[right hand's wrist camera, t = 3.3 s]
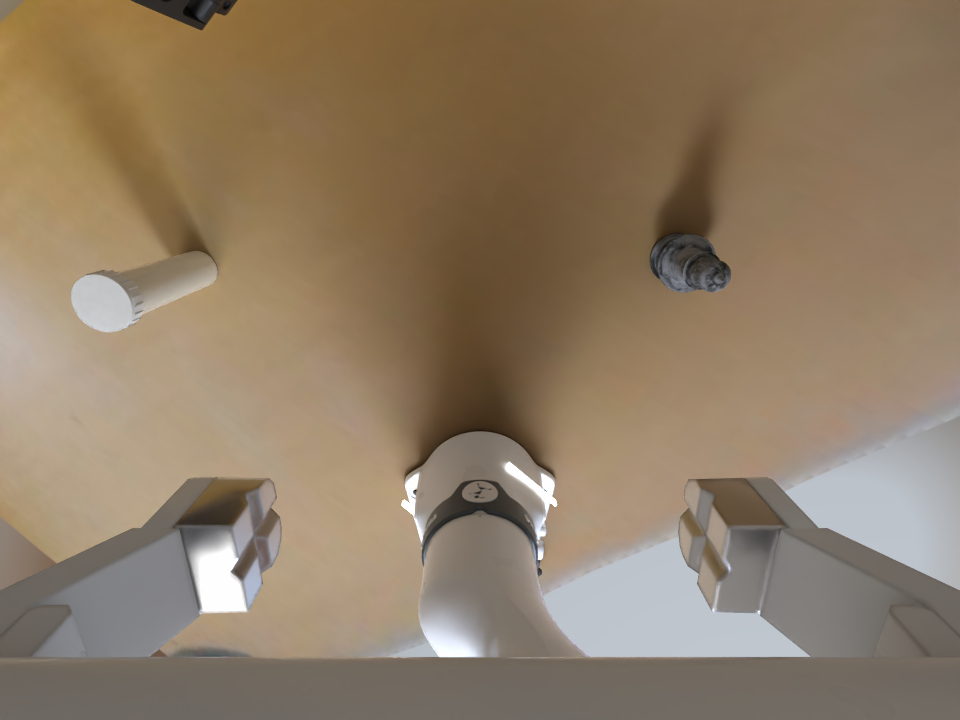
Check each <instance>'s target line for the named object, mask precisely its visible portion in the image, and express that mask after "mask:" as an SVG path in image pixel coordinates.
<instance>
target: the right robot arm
mask: <svg viewBox="0 0 960 720" xmlns="http://www.w3.org/2000/svg"><path fill="white" fill-rule="evenodd" d="M405 488H406V491H407V495H408V498H409V502H410V504H409V503H408V502H406V501H405V500H404V501H403V502H402V506H403V507H404V508H406V509H407V510H408V511H409V512H411V513H412V514H413V516H414V519H415V523H416V526H417V530H418V533H419V537H420V540H421V543H422V562H423V566H424V570H423V577H422V584H421V591H420V599H419V606H418V613H419V620H420V624H421V628H422V630H423V632H424V635H425V636H426V638H427V640H428V641H429V643H430V645H431V646H432V647H433V649H434V650H435V652H436V653H437V654H438V655H439V656H440V657H150V656H151V655H152V654H153V653H154V652H156V651H157V650H158V649H159V648H161V647H162V646H163V645H164V644H166V643H167V642H168V641H169V640H171V639H172V638H173V637H174V636H175V635H177V634H178V633H179V632H180V631H182V630H183V629H184V628H185V627H187V626H188V625H189V624H190V623H192V622H193V621H194V620H195V619H196V618H198V617H199V616H200V614H199V613H226V612H248V611H249V609H250V607H251V605H252V603H253V601H254V599H255V598H256V596H257V594H258V592H259V590H260V588H261V586H262V584H263V582H262V576H261V573H263V572H264V571H266V570H267V569H269V568H270V567H272V565H273V563H274V561H275V559H276V557H277V555H278V551H279V547H280V543H281V522H280V517H279V516H278V514H277V513H276V512H275V511H274V510H273V509H272V508H271V506H272V505H273V503H274V501H275V500H276V498H277V496H276V491H275V486H274V483H273V482H272V481H271V480H270V479H269V478H222V477H220V478H217V477H195V478H191V479H188V480H187V481H186V482H185V483H184V484H183V485H182V486H181V487H180V488H179V489H178V490H177V491H176V492H175V493H174V494H173V495H172V496H171V498H170V499H169V500H168V501H167V502H166V503H165V504H164V505H163V506H162V507H161V508H160V509H159V510H158V511H157V512H156V513H155V514H154V515H153V516H152V517H151V518H150V519H149V521H148V522H147V523H146V524H145V525H144V526H143V527H142V528H132V529H130V530H128V531H126V532H124V533H122V534H119V535H117V536H115V537H113V538H111V539H109V540H107V541H104V542H102V543H100V544H98V545H96V546H94V547H92V548H90V549H87V550H85V551H83V552H81V553H79V554H77V555H75V556H72V557H70V558H68V559H66V560H64V561H62V562H60V563H58V564H55V565H53V566H51V567H49V568H47V569H45V570H43V571H41V572H38V573H36V574H34V575H32V576H30V577H28V578H26V579H24V580H21V581H19V582H17V583H15V584H13V585H11V586H9V587H6V588H4V589H2V590H0V720H960V591H959V590H957V589H955V588H953V587H951V586H949V585H947V584H945V583H943V582H940V581H938V580H936V579H934V578H932V577H930V576H928V575H926V574H923V573H921V572H919V571H917V570H915V569H913V568H911V567H909V566H906V565H904V564H902V563H900V562H898V561H896V560H894V559H892V558H889V557H887V556H885V555H883V554H881V553H879V552H877V551H875V550H872V549H870V548H868V547H866V546H864V545H862V544H860V543H858V542H855V541H853V540H851V539H849V538H847V537H845V536H843V535H841V534H838V533H836V532H834V531H832V530H830V529H828V528H818V527H817V526H816V525H815V524H814V523H813V522H812V520H810V518H809V517H808V516H807V515H806V514H805V513H804V512H803V511H802V510H801V509H800V508H799V507H798V506H797V505H796V504H795V503H794V502H793V501H792V500H791V499H790V497H789V496H788V495H787V494H786V493H785V492H784V491H783V490H782V489H781V488H780V487H779V486H778V485H777V484H776V483H775V482H774V481H773V480H772V479H770V478H767V477H750V478H724V479H688V482H687V484H686V486H685V490H684V496H683V498H684V500H685V501H686V503H687V505H688V506H689V508H688V509H687V510H686V511H685V512H684V513H683V514H682V516H681V517H680V523H679V531H678V532H679V543H680V548H681V551H682V554H683V557H684V559H685V561H686V563H687V565H688V566H689V567H690V568H691V569H693V570H694V571H696V572H697V573H699V576H698V582H697V584H698V586H699V588H700V590H701V592H702V594H703V596H704V598H705V599H706V601H707V603H708V605H709V607H710V609H711V611H712V612H733V613H760V616H761V617H763V618H764V619H765V620H766V621H767V622H769V623H770V624H771V625H772V626H774V627H775V628H776V629H777V630H779V631H780V632H781V633H782V634H783V635H785V636H786V637H787V638H788V639H790V640H791V641H792V642H793V643H795V644H796V645H797V646H798V647H800V648H801V649H802V650H803V651H804V652H806V653H807V654H808V655H809V656H811V657H590V656H588V655H587V654H586V653H585V652H584V651H583V650H581V649H580V648H579V647H578V646H577V645H576V644H575V643H574V642H573V641H572V640H571V639H570V638H569V637H568V636H567V635H566V634H565V633H564V632H563V630H562V629H561V628H560V627H559V626H558V624H557V623H556V622H555V621H554V619H553V618H552V616H551V614H550V613H549V611H548V609H547V607H546V605H545V602H544V599H543V595H542V591H541V588H540V583H539V579H538V576H540V575H541V574H542V570H541V569H540V568H539V564H540V560H541V559H542V558H543V553H544V543H543V541H542V540H540V537H541V536H545V534H546V525H545V524H544V523H545V519H546V516H547V512H548V509H549V505H550V503H552V504H553V505H554V506H556V505H557V503H556V500H555V499H553V498H552V495H553V492H554V488H555V479H554V477H553V475H552V474H551V473H549V472H548V471H546V470H545V469H543V468H541V467H539V466H538V465H537V464H536V463H535V462H534V461H533V460H532V458H531V457H530V456H529V454H528V453H527V452H526V451H525V449H524V448H523V447H521V446H520V445H519V444H518V443H516V442H515V441H513V440H512V439H510V438H508V437H506V436H503V435H500V434H497V433H492V432H485V431H475V432H468V433H463V434H460V435H457V436H454V437H452V438H450V439H448V440H447V441H445V442H444V443H442V444H441V445H440V446H439V447H437V448H436V450H435V451H434V452H433V453H432V454H431V456H430V457H429V458H428V460H427V461H426V462H425V464H424V465H422V466H421V467H419V468H417V469H416V470H414V471H412V472H411V473H410V474H408V475H407V477H406V479H405ZM415 489H417V492H416V491H414V490H415ZM543 489H545V490H546V491H544V490H543Z"/></svg>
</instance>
